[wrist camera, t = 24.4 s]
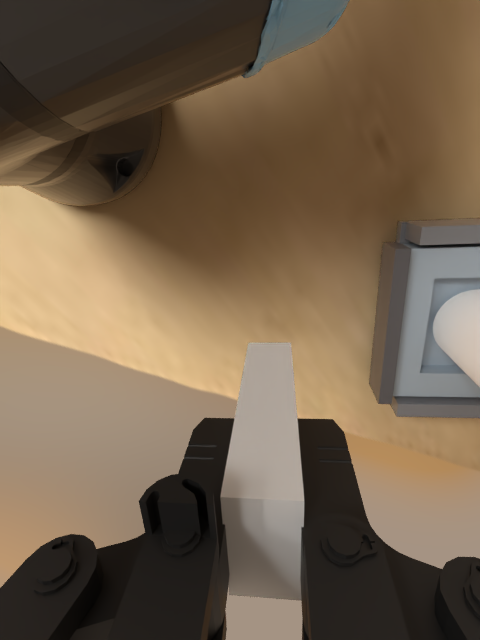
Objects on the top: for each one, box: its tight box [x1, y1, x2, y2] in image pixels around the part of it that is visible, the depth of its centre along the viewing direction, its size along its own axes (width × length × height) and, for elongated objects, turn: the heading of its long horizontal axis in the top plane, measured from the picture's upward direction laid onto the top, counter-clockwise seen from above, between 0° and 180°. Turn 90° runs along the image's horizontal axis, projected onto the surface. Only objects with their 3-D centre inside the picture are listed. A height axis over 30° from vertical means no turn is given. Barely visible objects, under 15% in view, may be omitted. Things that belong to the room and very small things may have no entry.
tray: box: [369, 242, 480, 404], centre depth 31 cm, size 15×14×4 cm
